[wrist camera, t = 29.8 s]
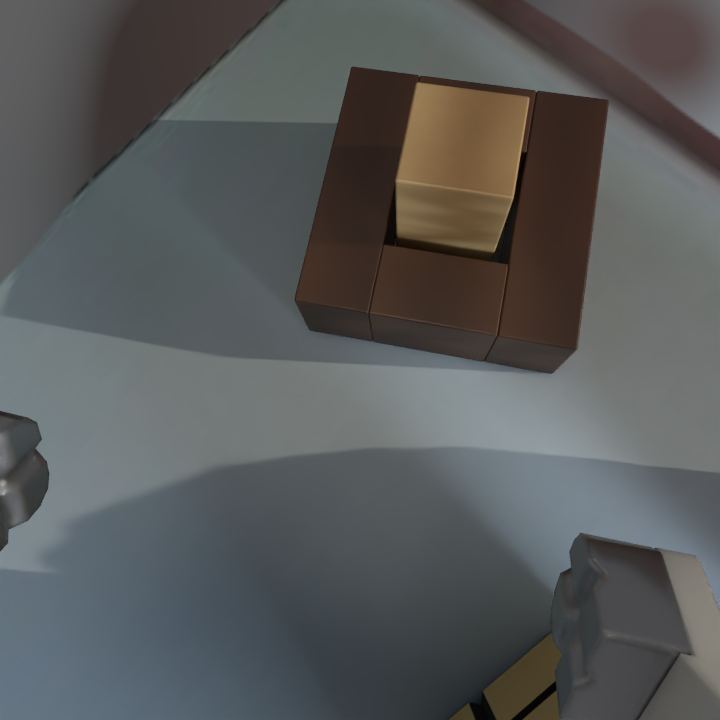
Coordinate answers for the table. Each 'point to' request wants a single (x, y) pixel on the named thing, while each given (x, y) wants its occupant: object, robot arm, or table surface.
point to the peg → (458, 169)
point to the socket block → (448, 272)
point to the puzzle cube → (521, 689)
